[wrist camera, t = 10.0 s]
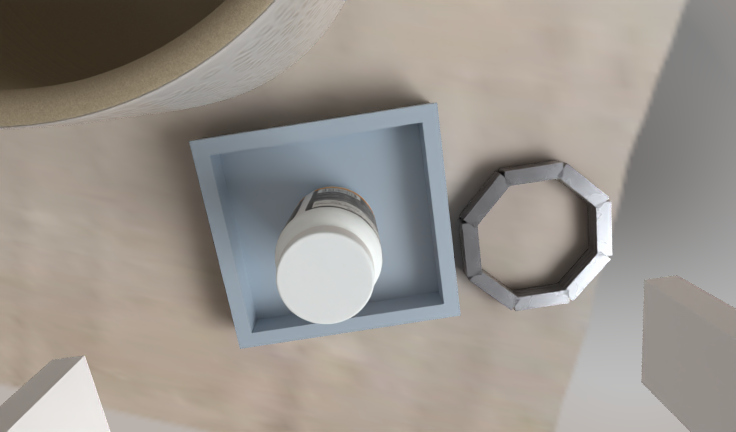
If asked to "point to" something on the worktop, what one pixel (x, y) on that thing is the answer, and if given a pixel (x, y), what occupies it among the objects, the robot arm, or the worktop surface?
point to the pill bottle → (328, 256)
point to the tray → (323, 169)
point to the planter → (144, 54)
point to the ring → (584, 266)
